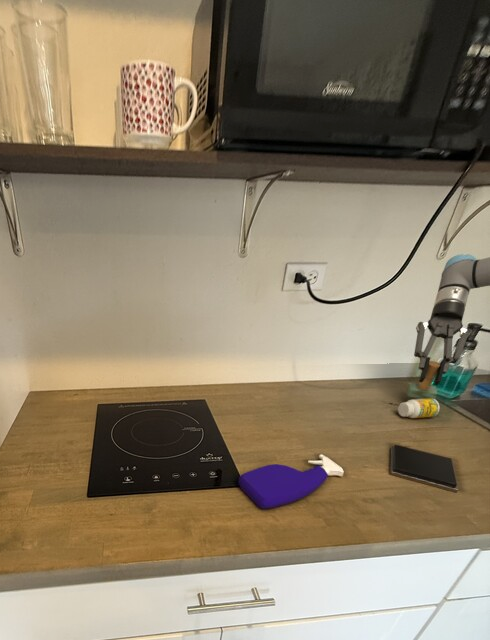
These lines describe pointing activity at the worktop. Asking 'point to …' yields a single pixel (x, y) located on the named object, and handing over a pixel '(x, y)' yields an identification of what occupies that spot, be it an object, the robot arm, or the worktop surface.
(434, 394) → the brush
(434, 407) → the supplement bottle
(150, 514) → the worktop surface
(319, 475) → the spray bottle
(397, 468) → the flat black square slab
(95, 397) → the worktop surface
